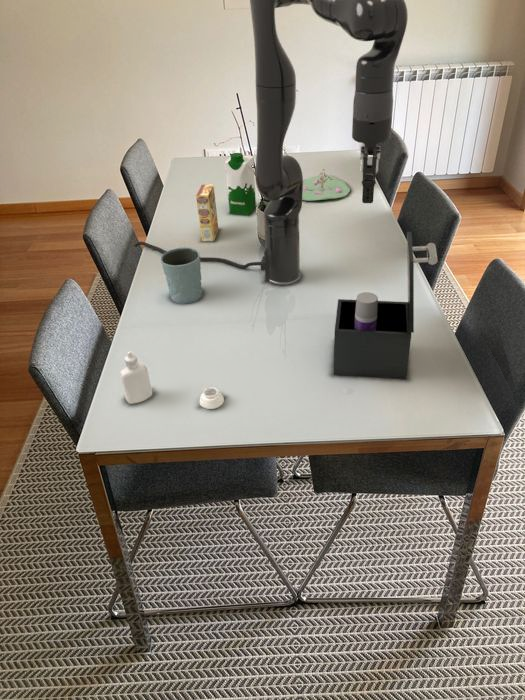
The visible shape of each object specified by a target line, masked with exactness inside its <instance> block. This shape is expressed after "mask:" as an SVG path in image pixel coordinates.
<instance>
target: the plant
mask: <svg viewBox="0 0 525 700" xmlns="http://www.w3.org/2000/svg"><path fill="white" fill-rule="evenodd" d="M325 170H326V169H325V168H322V171H325ZM350 192H351V188H350V186H349V185H348V184H346V183H345V182H344V181H342V180H341V179H338V178H336V177H335V176H332V175H328V174H326V173H325V172H320V173H319V174H318V176H313V177H309V178H306V179H305V180H303V194H302V201H309V202H310V201H323V200H333V199H340V198H344V197H346V196H347V195H348V194H349V193H350Z"/></svg>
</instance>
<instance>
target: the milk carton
mask: <svg viewBox="0 0 525 700" xmlns="http://www.w3.org/2000/svg"><path fill="white" fill-rule="evenodd" d="M251 165H252V166H253V167H254V168H255V156H254V155H244V154H243V153H241V152H234V153H231V154H230V156H229V157H228V158H227V159H226V160H225V161H224V169H225V176H226V188H227V197H228V198H227V199H228V207H229V214H230V215H237V216H248V217H249V216H250V215H251V214H252V213H253V212H254V210H255V209H256V208H257V201H256V199H257V198H256V179H255V170H254V171H253V168H252V167H251Z"/></svg>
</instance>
